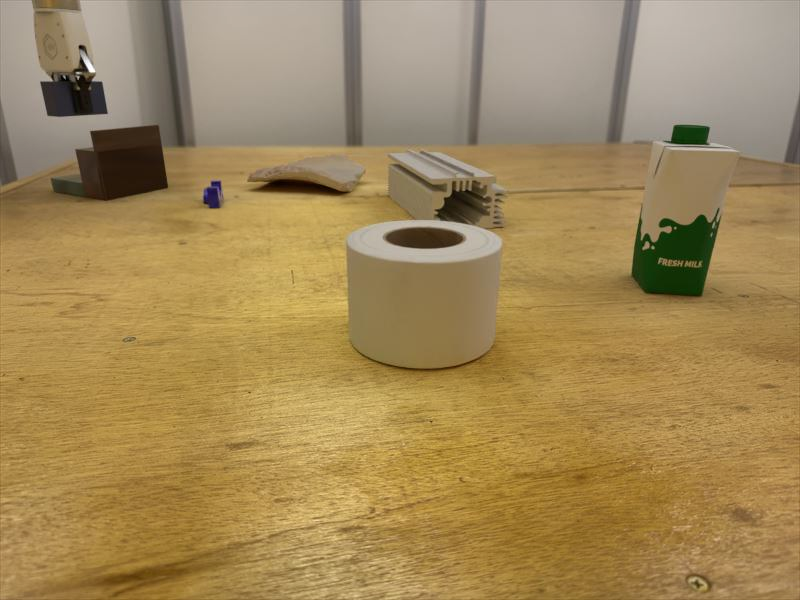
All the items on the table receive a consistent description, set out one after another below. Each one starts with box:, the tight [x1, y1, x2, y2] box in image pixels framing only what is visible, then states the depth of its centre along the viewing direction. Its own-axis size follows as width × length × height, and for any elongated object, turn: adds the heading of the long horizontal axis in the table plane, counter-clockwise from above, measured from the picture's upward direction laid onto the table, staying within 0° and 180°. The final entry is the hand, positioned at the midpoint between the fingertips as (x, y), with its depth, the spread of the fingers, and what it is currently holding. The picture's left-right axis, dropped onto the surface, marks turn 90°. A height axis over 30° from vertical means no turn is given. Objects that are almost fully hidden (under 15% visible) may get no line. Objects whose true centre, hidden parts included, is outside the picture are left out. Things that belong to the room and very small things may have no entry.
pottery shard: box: [246, 153, 367, 192], centre depth 131 cm, size 24×8×20 cm
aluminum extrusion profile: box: [387, 148, 509, 229], centre depth 109 cm, size 14×31×10 cm, turn 15°
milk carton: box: [630, 124, 742, 297], centre depth 69 cm, size 9×9×20 cm
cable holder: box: [202, 179, 224, 209], centre depth 113 cm, size 8×4×4 cm, turn 11°
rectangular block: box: [39, 80, 109, 118], centre depth 105 cm, size 4×10×6 cm, turn 151°
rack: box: [50, 124, 169, 202], centre depth 123 cm, size 18×16×14 cm
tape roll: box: [345, 219, 503, 370], centre depth 57 cm, size 16×15×11 cm
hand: (77, 111), depth 106 cm, fingers closed on rectangular block, 3 cm apart
